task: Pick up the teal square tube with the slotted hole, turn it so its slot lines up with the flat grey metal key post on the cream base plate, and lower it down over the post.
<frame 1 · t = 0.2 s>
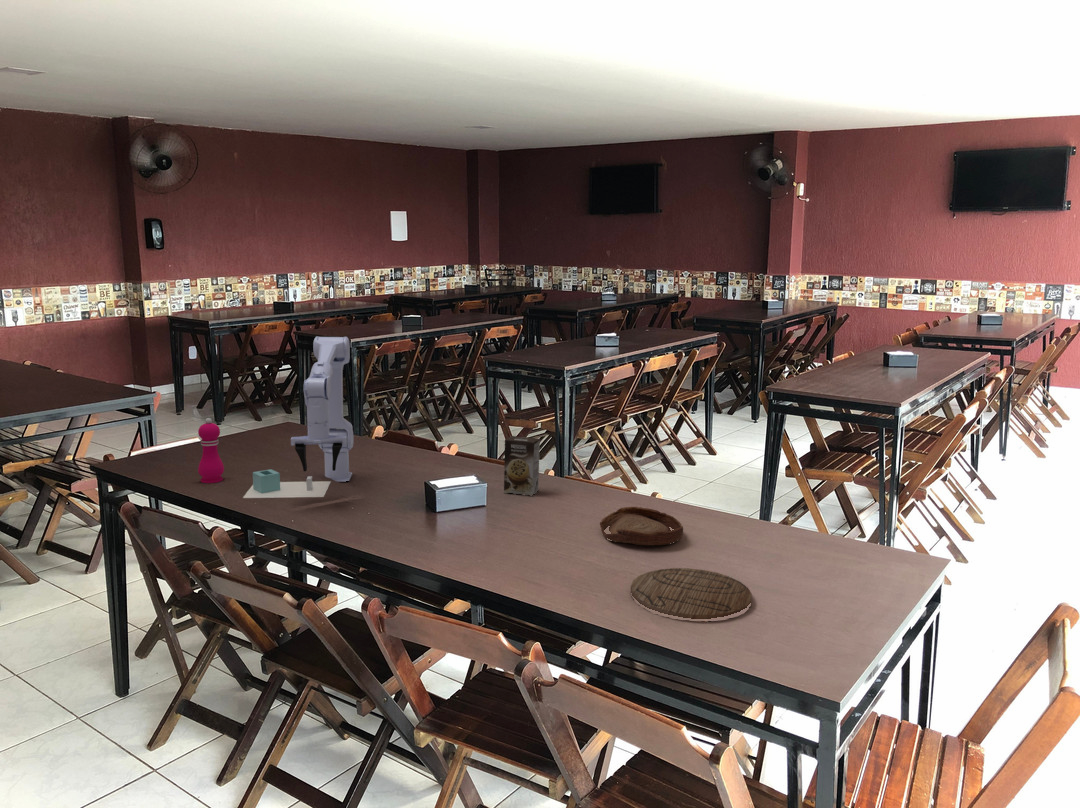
hand: (319, 470, 243), 10 cm above the table, tool pointing down, fingers open, 7 cm apart
key plate: (288, 493, 255), on the table
brown cardboard box: (521, 493, 260), on the table
basket: (641, 537, 224), on the table
trivet: (690, 599, 186), on the table
pepper mill: (212, 484, 264), on the table
teal square tube: (266, 489, 255), point 1 cm above the table, touching key plate
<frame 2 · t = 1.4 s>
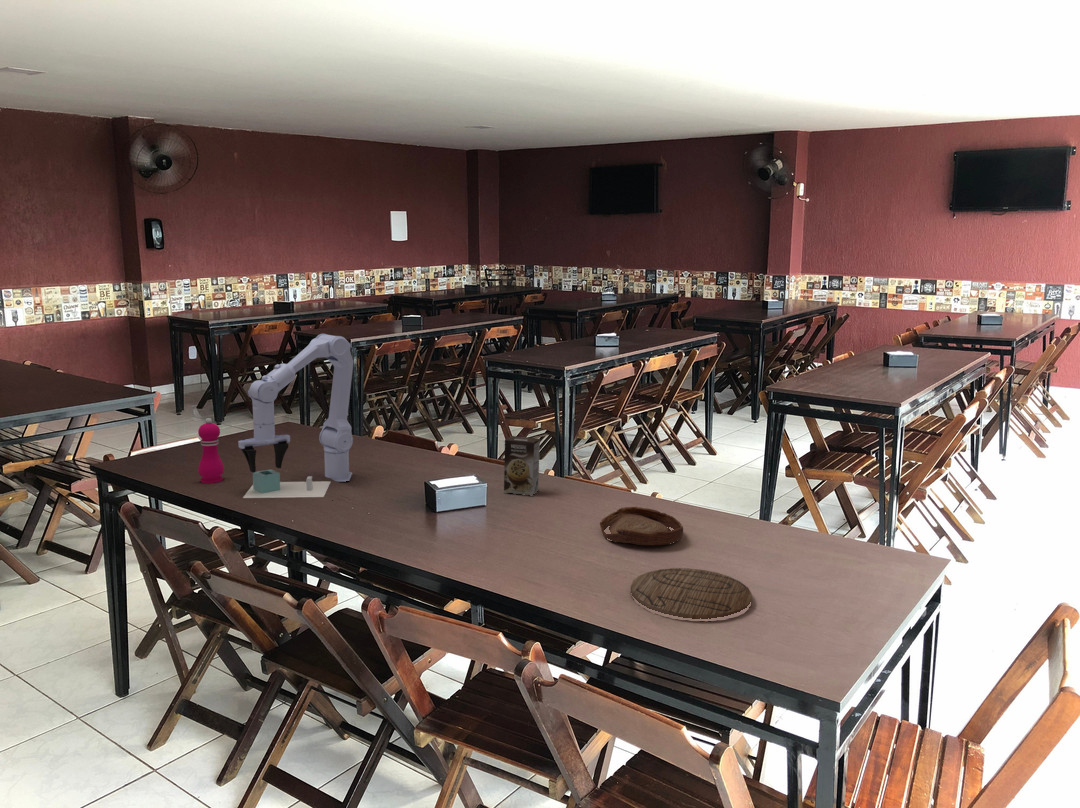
hand: (265, 469, 253), 7 cm above the table, tool pointing down, fingers open, 7 cm apart
nothing on the table moved.
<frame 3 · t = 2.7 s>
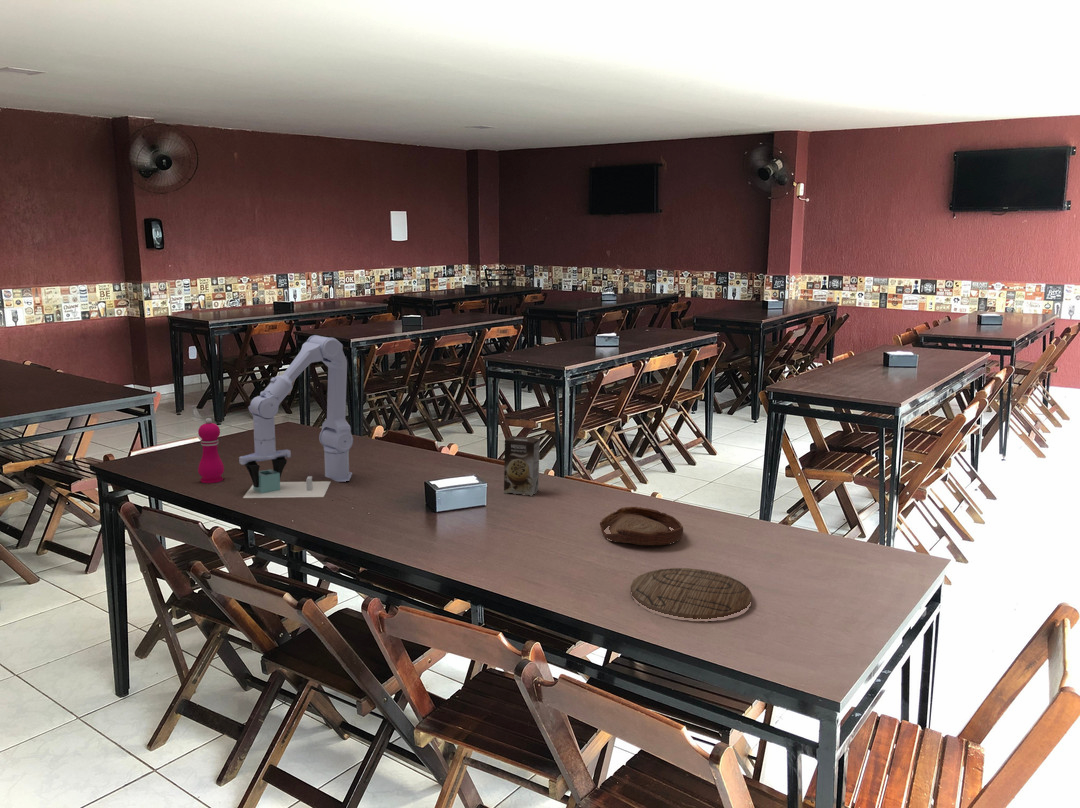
hand: (266, 484, 254), 3 cm above the table, tool pointing down, fingers closed on teal square tube, 6 cm apart
teal square tube: (266, 489, 255), point 1 cm above the table, touching gripper, key plate
everything else where it was.
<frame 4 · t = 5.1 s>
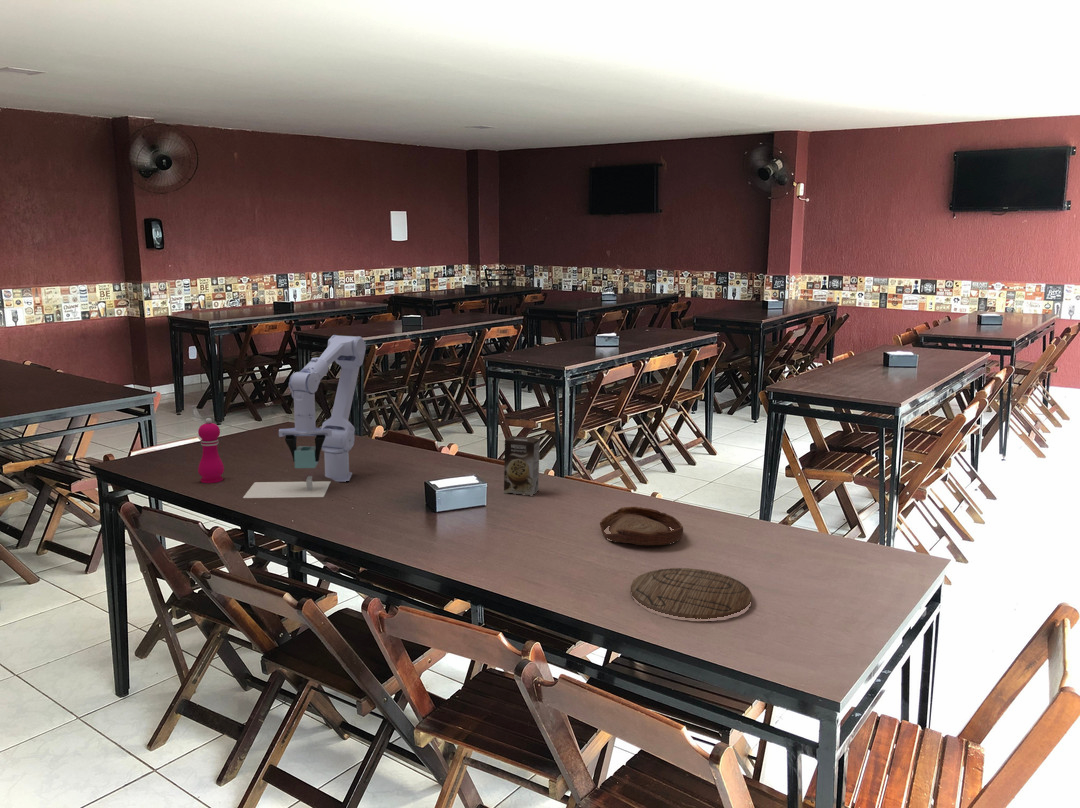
hand: (306, 460, 254), 10 cm above the table, tool pointing down, fingers closed on teal square tube, 6 cm apart
teal square tube: (306, 465, 254), point 8 cm above the table, touching gripper
everything else where it was.
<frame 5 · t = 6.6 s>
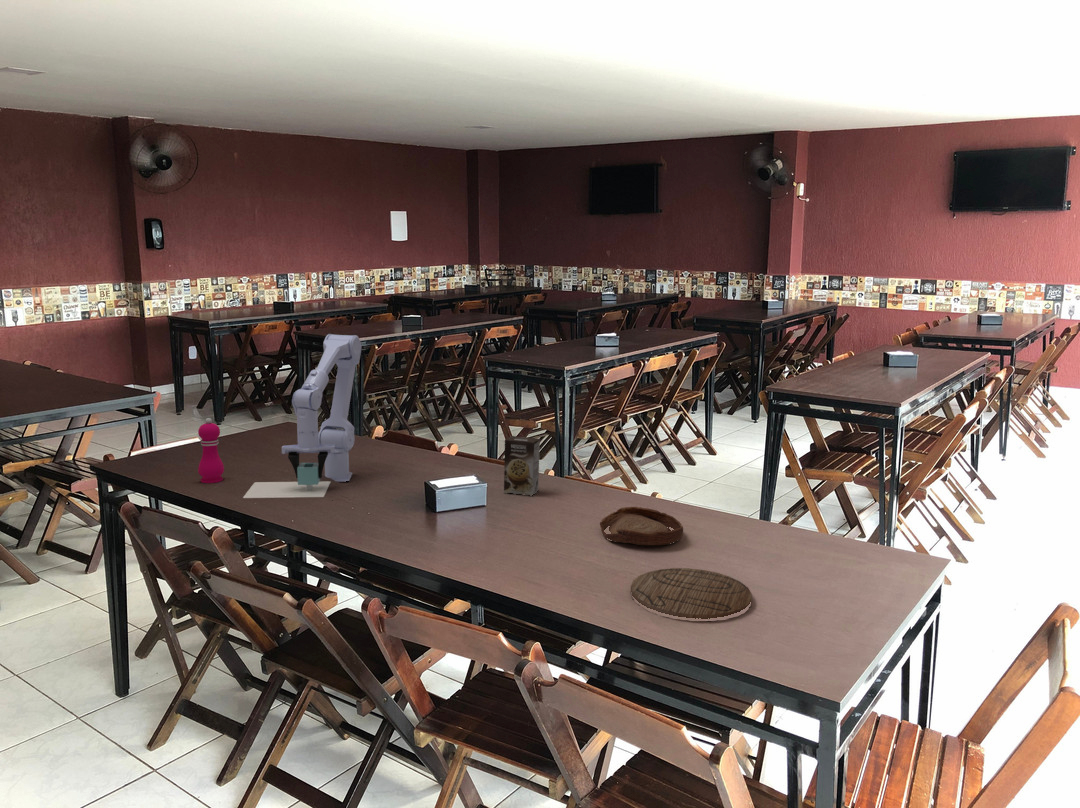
hand: (309, 477, 255), 5 cm above the table, tool pointing down, fingers closed on teal square tube, 6 cm apart
teal square tube: (309, 482, 255), point 3 cm above the table, touching gripper
everything else where it was.
when the fingers open (4 cm above the table, at t = 7.8 s): teal square tube drops 1 cm, resting on key plate.
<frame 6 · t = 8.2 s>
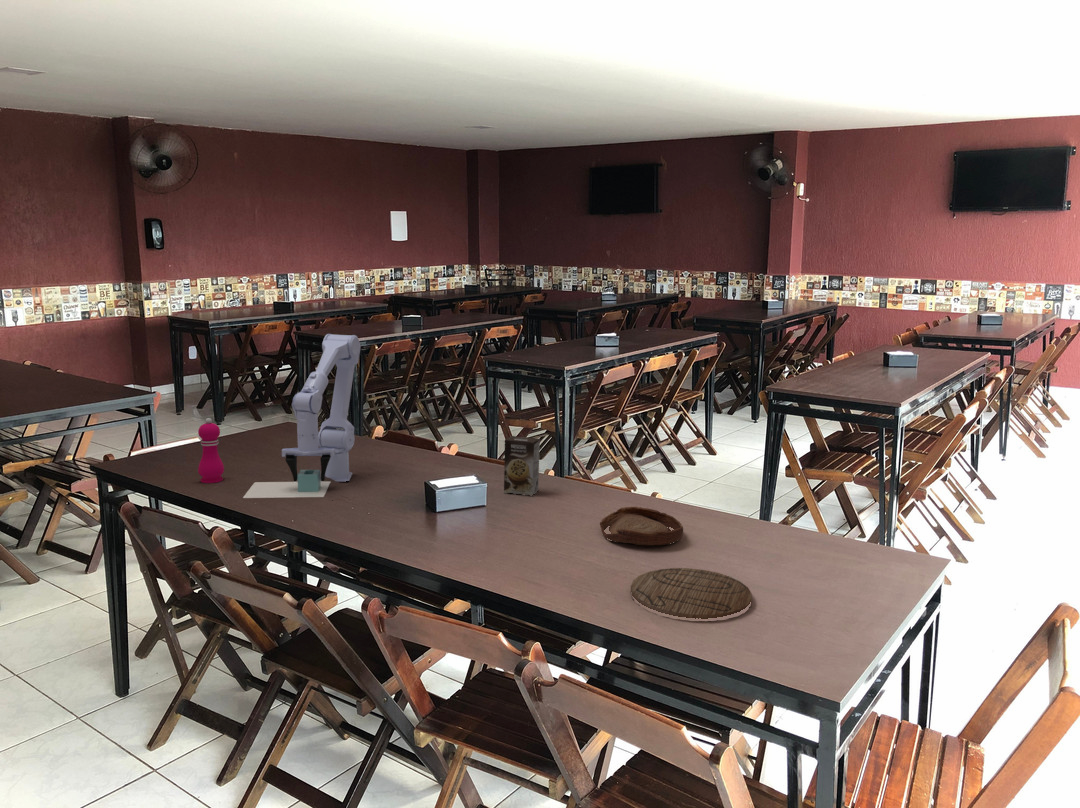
hand: (309, 480, 255), 4 cm above the table, tool pointing down, fingers open, 7 cm apart
teal square tube: (309, 489, 256), point 1 cm above the table, touching key plate
everything else where it was.
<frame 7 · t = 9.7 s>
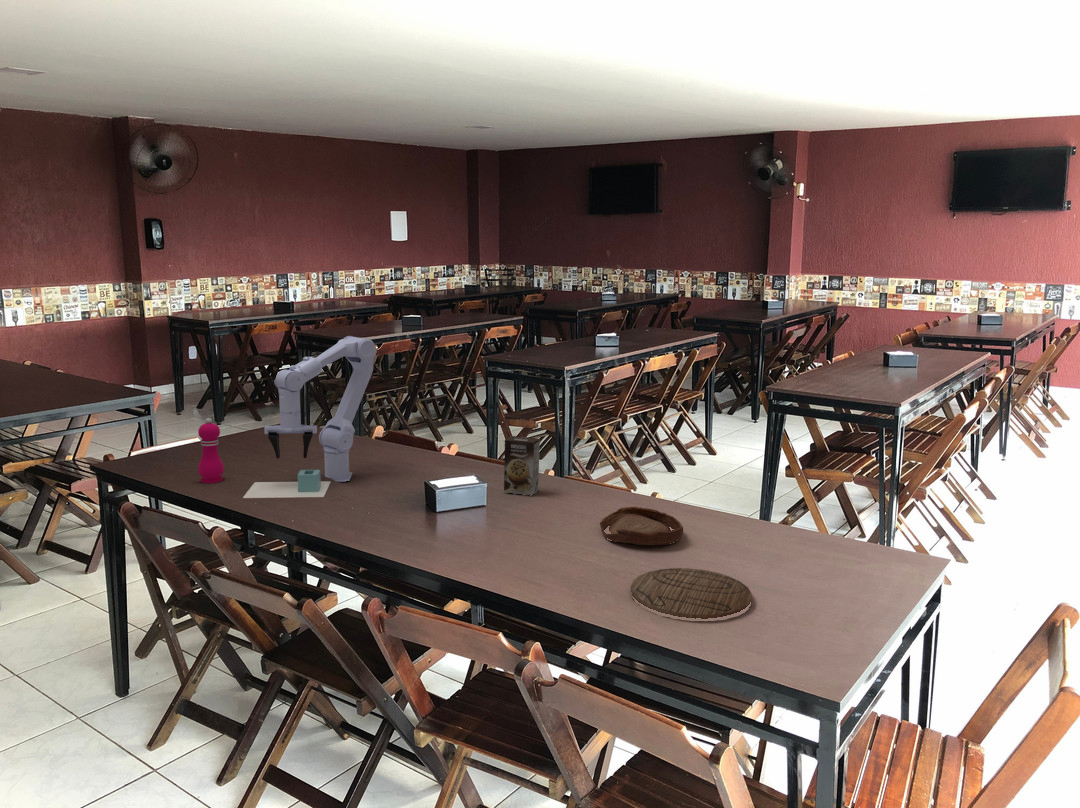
hand: (291, 457, 258), 9 cm above the table, tool pointing down, fingers open, 7 cm apart
nothing on the table moved.
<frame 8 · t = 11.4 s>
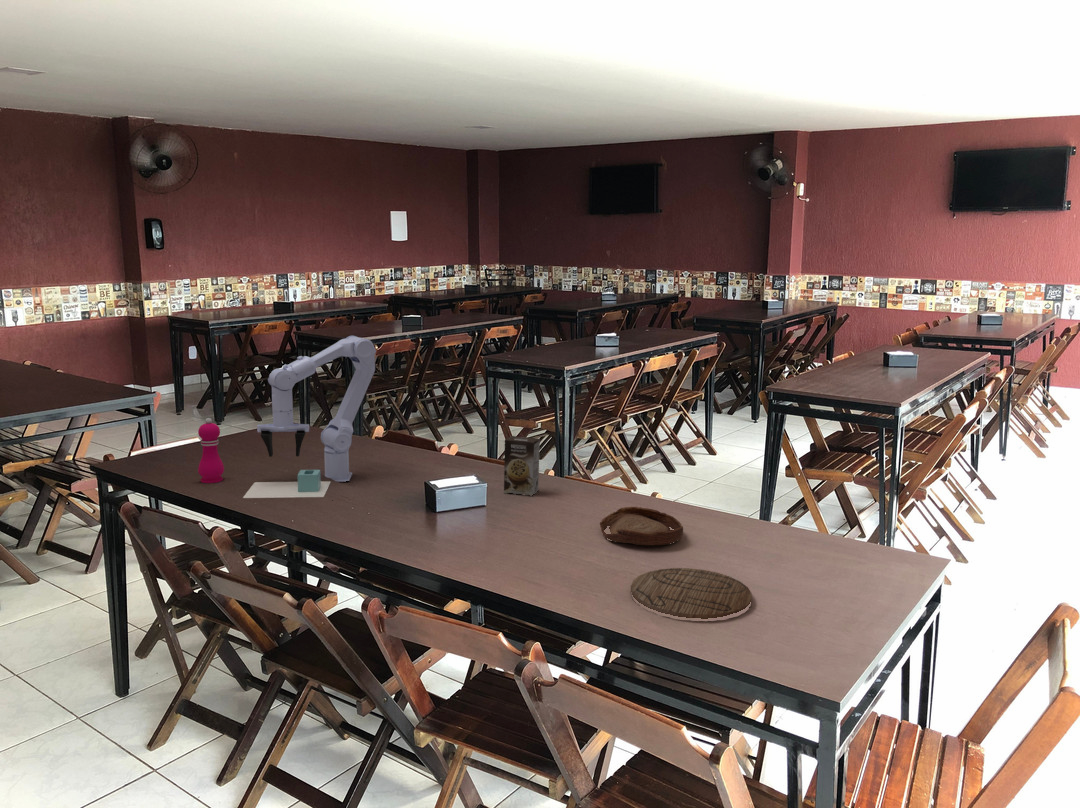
hand: (284, 455, 260), 9 cm above the table, tool pointing down, fingers open, 7 cm apart
nothing on the table moved.
at the end: teal square tube 0.0 cm from the target spot on the key plate, point 1.2 cm above the key plate's base; teal square tube tilted 0°; the gripper is holding nothing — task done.
